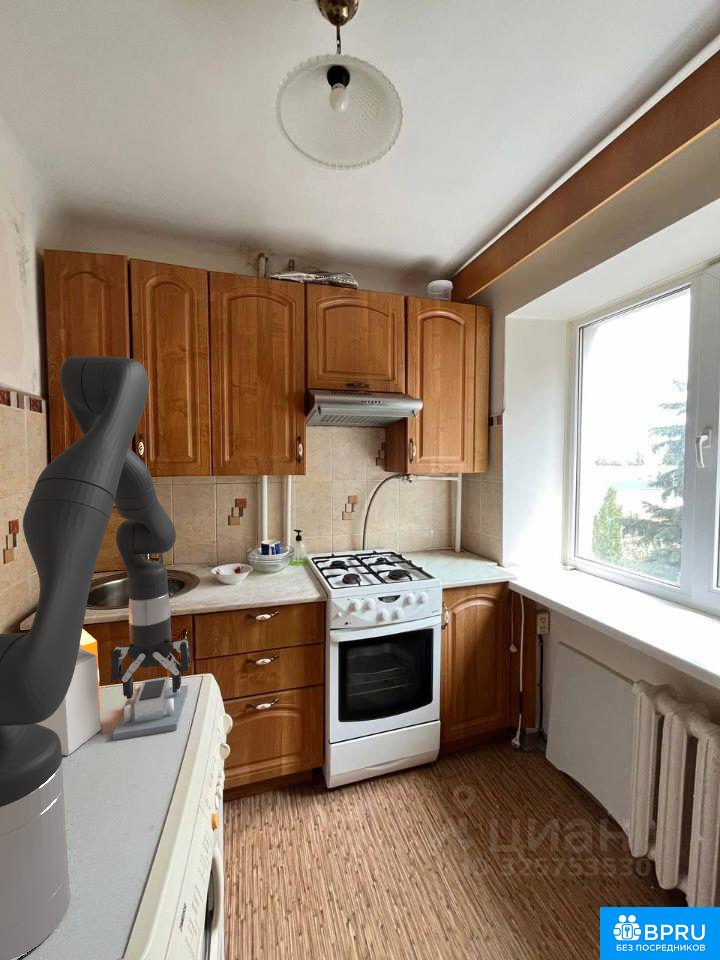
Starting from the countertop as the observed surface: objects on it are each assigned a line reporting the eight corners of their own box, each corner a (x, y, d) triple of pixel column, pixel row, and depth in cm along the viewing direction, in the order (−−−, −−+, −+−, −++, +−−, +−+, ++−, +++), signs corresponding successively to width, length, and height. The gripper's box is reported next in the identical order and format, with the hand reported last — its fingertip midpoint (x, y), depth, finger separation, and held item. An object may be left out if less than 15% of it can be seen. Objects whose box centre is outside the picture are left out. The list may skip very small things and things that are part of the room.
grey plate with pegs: (176, 730, 80) (175, 709, 80) (113, 740, 77) (112, 718, 77) (188, 690, 94) (187, 672, 93) (134, 697, 91) (133, 679, 91)
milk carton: (68, 756, 73) (62, 652, 72) (35, 751, 75) (29, 648, 74) (101, 730, 80) (96, 634, 79) (70, 726, 82) (65, 631, 81)
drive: (163, 718, 82) (162, 698, 82) (135, 723, 80) (134, 703, 80) (169, 693, 90) (169, 675, 90) (144, 697, 89) (143, 679, 89)
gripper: (104, 627, 79) (108, 710, 80) (184, 619, 82) (187, 698, 83) (116, 613, 86) (120, 688, 87) (190, 606, 90) (192, 679, 91)
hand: (153, 693), depth 85 cm, fingers open, 8 cm apart
